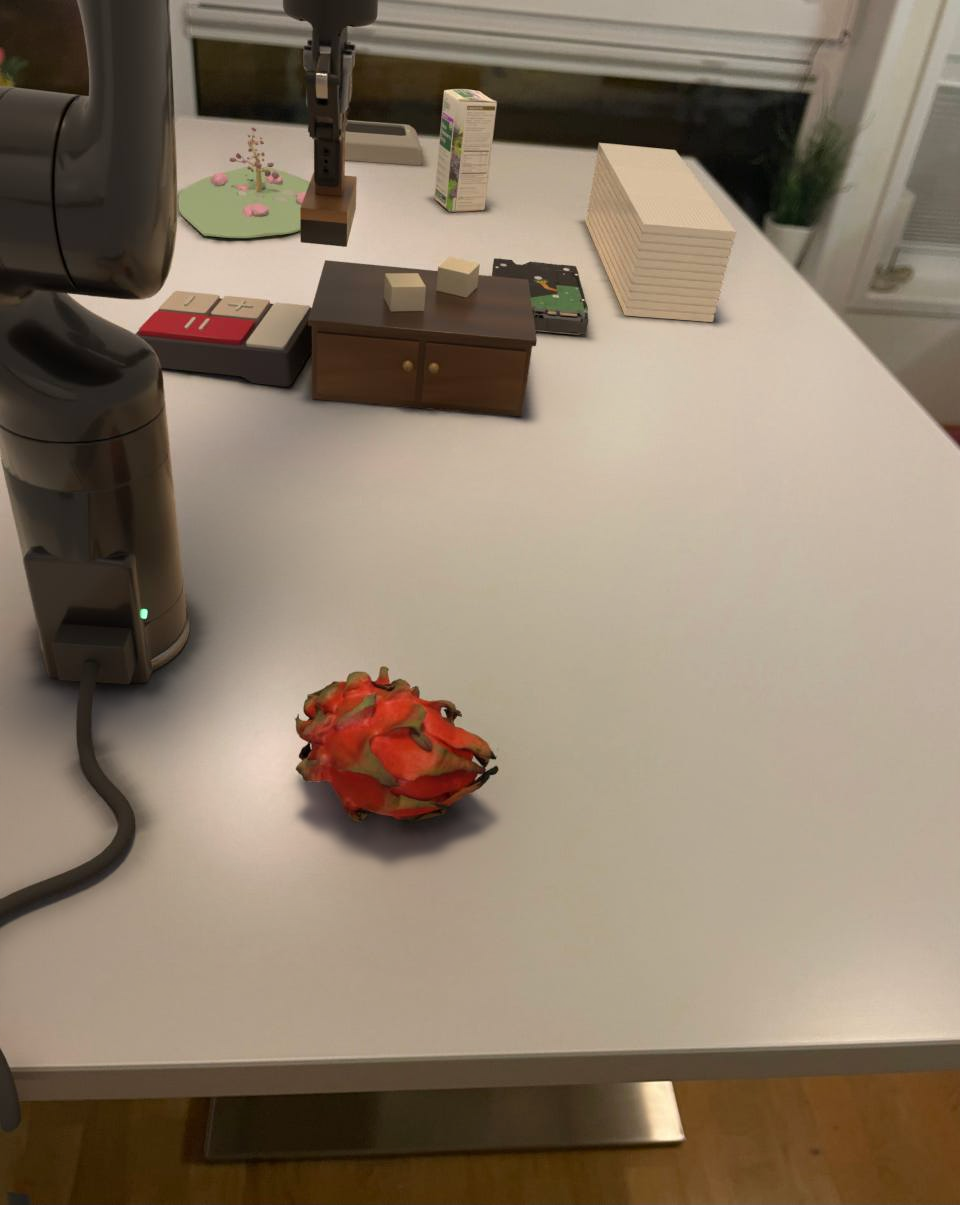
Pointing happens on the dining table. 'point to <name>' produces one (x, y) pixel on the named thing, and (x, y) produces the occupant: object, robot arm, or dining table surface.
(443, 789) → the dragon fruit
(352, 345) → the cabinet
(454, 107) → the syrup box
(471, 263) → the wooden block
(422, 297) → the wooden block
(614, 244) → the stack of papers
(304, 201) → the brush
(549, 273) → the disk drive
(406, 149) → the beige low box
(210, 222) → the plant
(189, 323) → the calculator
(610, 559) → the dining table surface
